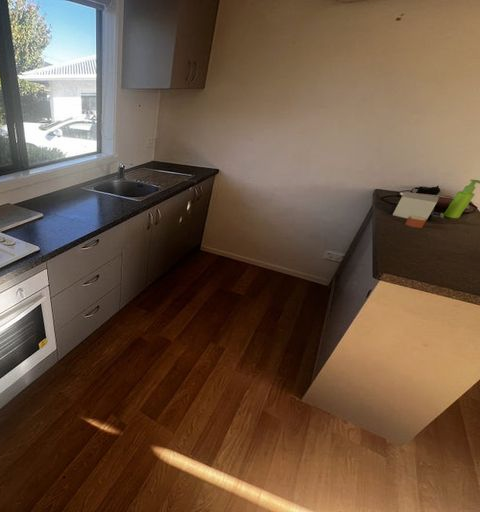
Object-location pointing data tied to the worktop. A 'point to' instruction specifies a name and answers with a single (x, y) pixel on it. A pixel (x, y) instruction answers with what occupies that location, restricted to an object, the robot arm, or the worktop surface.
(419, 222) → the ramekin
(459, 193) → the soap dispenser
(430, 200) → the cream box
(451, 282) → the worktop surface
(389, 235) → the worktop surface
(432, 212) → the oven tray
